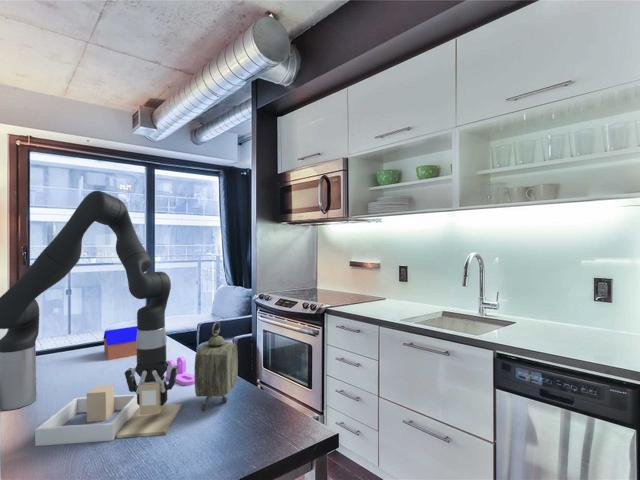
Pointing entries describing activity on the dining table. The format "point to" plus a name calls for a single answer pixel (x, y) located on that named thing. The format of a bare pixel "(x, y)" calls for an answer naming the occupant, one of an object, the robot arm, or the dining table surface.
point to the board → (150, 422)
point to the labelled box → (150, 398)
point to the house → (120, 343)
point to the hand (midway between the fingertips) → (152, 404)
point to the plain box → (100, 403)
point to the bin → (60, 434)
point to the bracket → (181, 372)
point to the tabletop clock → (215, 368)
